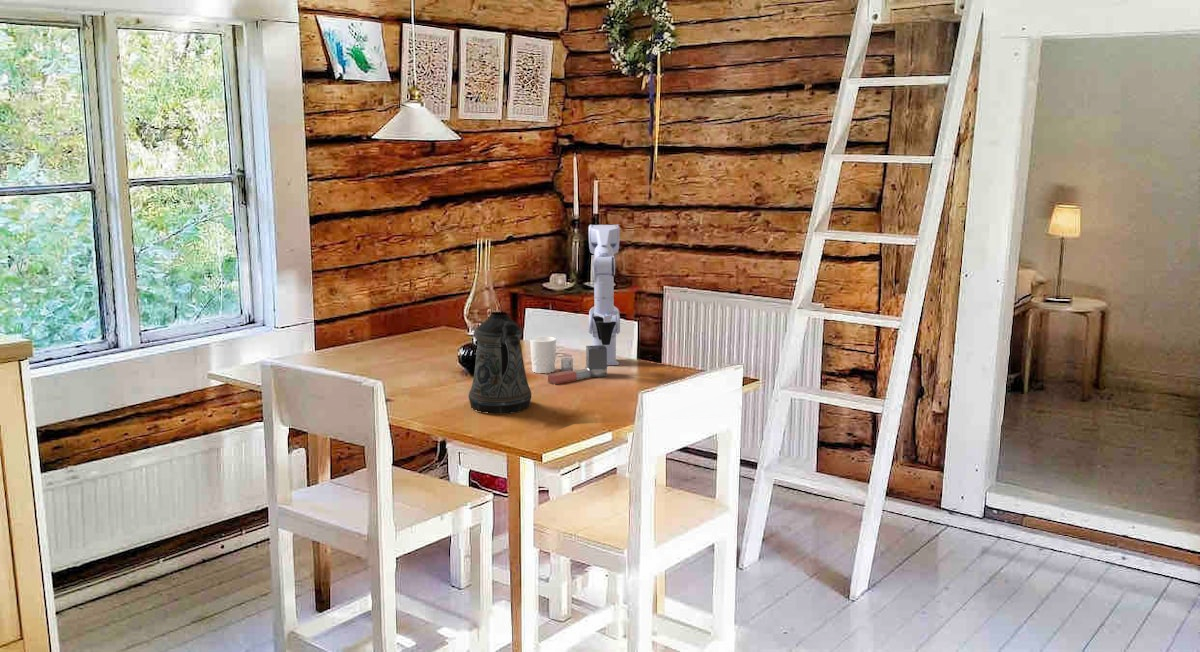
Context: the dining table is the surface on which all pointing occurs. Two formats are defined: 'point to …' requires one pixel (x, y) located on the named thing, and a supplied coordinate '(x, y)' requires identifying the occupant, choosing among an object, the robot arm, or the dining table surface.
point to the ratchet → (575, 375)
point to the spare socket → (566, 364)
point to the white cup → (543, 354)
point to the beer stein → (499, 367)
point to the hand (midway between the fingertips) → (604, 342)
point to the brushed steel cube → (596, 357)
